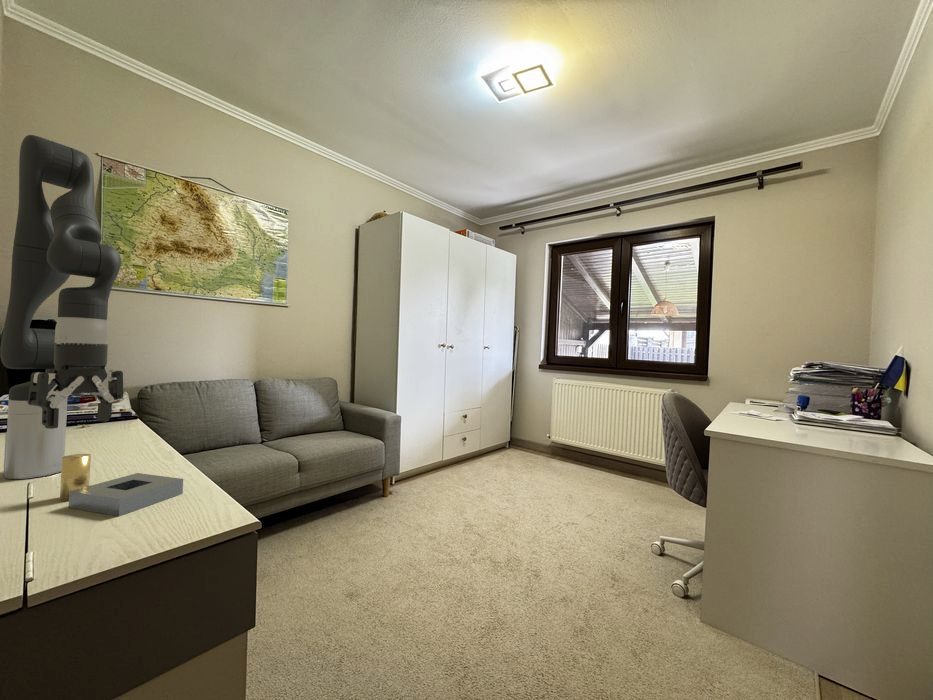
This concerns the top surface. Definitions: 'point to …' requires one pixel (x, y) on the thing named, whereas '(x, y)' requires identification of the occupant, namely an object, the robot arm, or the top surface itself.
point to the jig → (125, 494)
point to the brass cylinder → (74, 474)
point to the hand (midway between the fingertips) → (78, 424)
